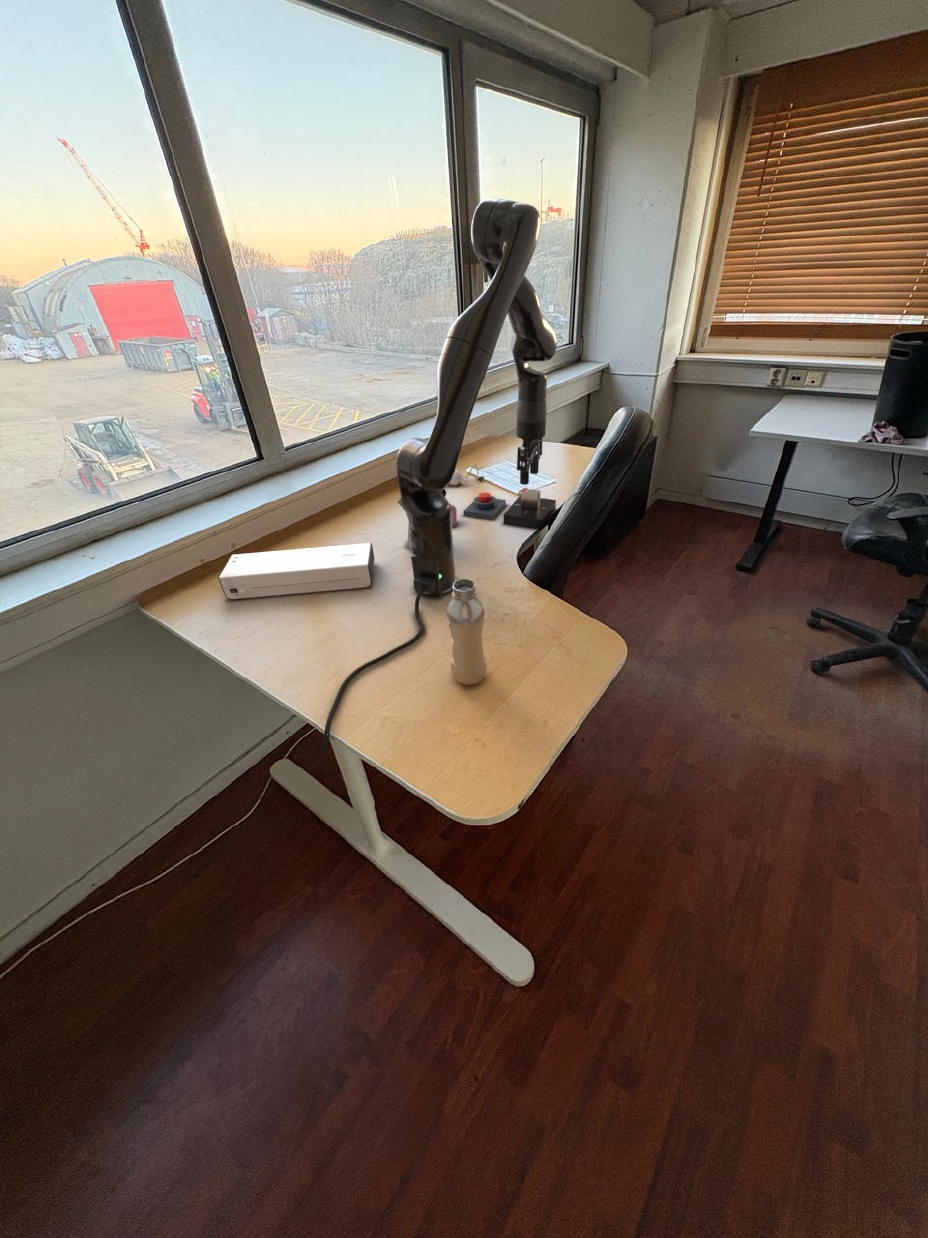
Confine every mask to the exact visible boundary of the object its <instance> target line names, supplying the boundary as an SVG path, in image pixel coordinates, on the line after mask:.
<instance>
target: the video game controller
mask: <svg viewBox="0 0 928 1238" xmlns="http://www.w3.org/2000/svg"><path fill="white" fill-rule="evenodd" d="M449 504H450V509H451V523H452V528H453V527H456V526H457V525H456V524H457V518H458V513H457V511H458V510H457V506H455V504H452V503H450V502H449Z"/></svg>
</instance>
